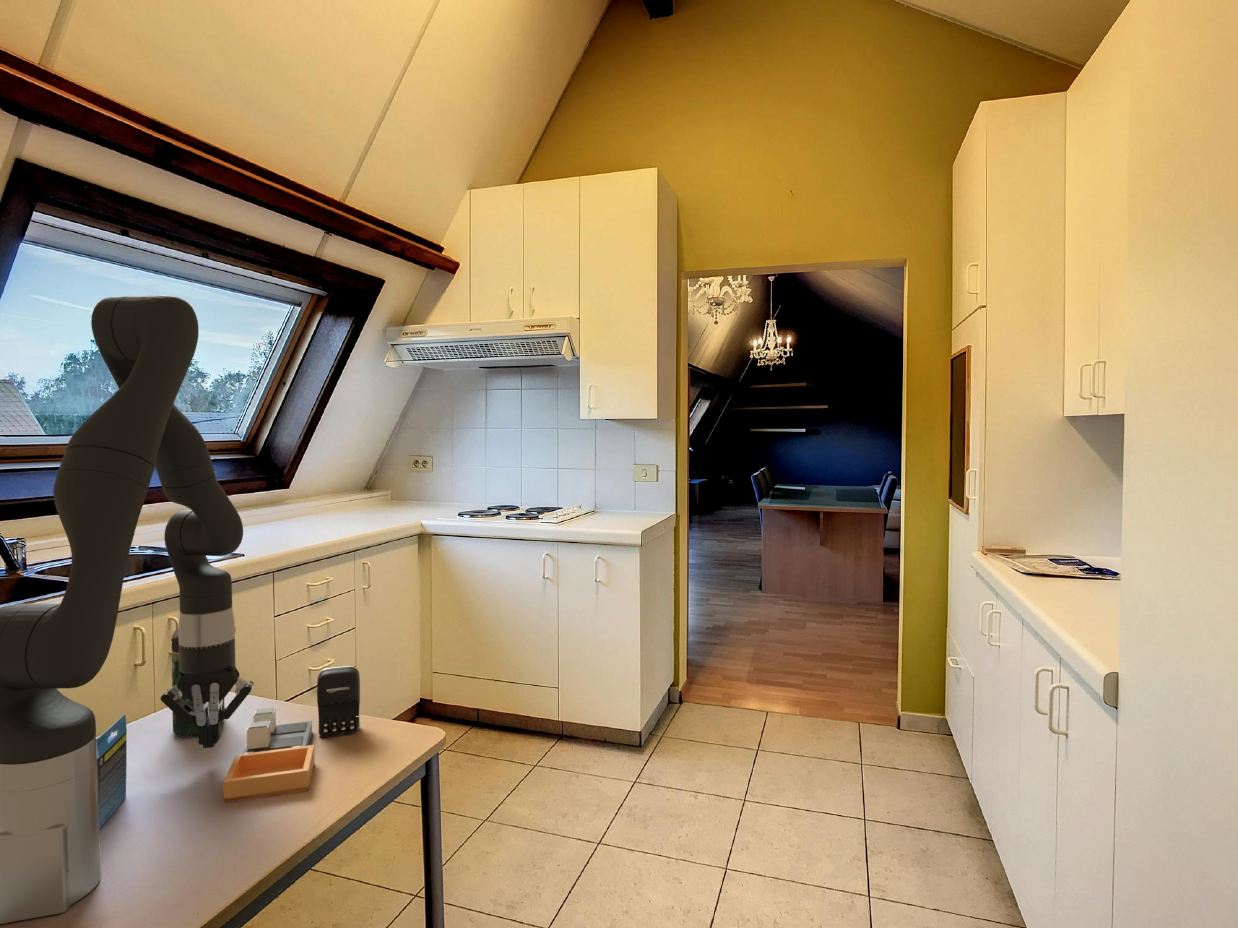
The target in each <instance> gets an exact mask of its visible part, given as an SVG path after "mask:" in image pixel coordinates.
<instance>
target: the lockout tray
mask: <svg viewBox="0 0 1238 928" xmlns="http://www.w3.org/2000/svg"><path fill="white" fill-rule="evenodd" d="M314 767H315V744H309V745H308V746H301V747H293V748H285V749H277V750H269V751H261V752H253V753H245V754H243V753H238V754H235V757H234V759H233V761H232V762H231V765H230V767H229V770H228V772H227V773H226V775H225V778H224V781H223V783H222V784H223V804H224V803H232V802H238V801H245V800H254V799H259V798H265V797H267V798H268V797H272V796H278V795H287V794H293V793H301V792H306V791H307V792H308V791H309V790H310V785H311V781H312V777H313V772H314Z"/></svg>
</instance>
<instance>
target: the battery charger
mask: <svg viewBox="0 0 1238 928" xmlns="http://www.w3.org/2000/svg"><path fill="white" fill-rule="evenodd" d="M316 703H317V713H318V734H319V736H320V737H322V738H326V737H327V738H328V737H329V738H330V737H339V736H346V735H350V734H351V735H352V734H355V733H357V732H358V731H359V730H360V727H361V723H360V722H361V721H360V708H361V707H360V706H361V705H360V704H361V675H360V671H359V669H358V668H357V667H356V666H355V665H342V666H333V667H332V666H331V667H326V668H325V667H324V669H321V671H320V672H318V676H317V681H316ZM356 716H359V717H356Z"/></svg>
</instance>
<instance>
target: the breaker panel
mask: <svg viewBox="0 0 1238 928" xmlns="http://www.w3.org/2000/svg"><path fill="white" fill-rule="evenodd" d="M312 733H313V721H312V720H309V721H299V722H298V721H297V722H291V723H282V724H281V723H280V724H276V728H275V730H274V732H272V733H271V741H270V744H269V746H268V747H263V748H255V749H247V745H245V748H244V751H243V753H242V754H245V753H253V752H261V751H269V750H277V749H285V748H293V747H301V746H308V745H310V742H311V739H312V735H311V734H312Z"/></svg>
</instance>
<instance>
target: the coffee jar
mask: <svg viewBox="0 0 1238 928" xmlns="http://www.w3.org/2000/svg"><path fill="white" fill-rule="evenodd" d="M170 641H171V681H172V682H171V684H172V685H171V686H172V687H174V686H175V685H176V681H177V679H178V677H179V674H180V671H179V634H178V628H176V629H175V630H174V631H173V633H172V635H171V639H170ZM172 687H171V688H172ZM181 693H182V692H181ZM181 698H182V699H183V700H184V701H186V702H187V703H188V704H189V705H190V706H191V707H192V708H193V709H194V703H193V702H191V701H190V700H189V699H188V698H187V697H186V696H185V695H184V694H183V693H182V697H181ZM209 705H210V702H209V704H208V708H209ZM225 708H226V706H225V698H224V699H223V703H222V709H225ZM209 716H210V710H209ZM224 722H225V719H224V720H222V721H220V724H221V728H222V726H223V724H224ZM172 731H173V734H174V735H175V737H177V738H179V737H180V738H181V737H183V738H184V737H189V738H190V737H191V738H196V737H197V738H198V726H197V725H196V724H194V723H189V724H186V723H184V722H183V721H182V720H181V719H180V718H179V717H178V716H177V715H176V714H175V713H174V712H173V711H172Z"/></svg>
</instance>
